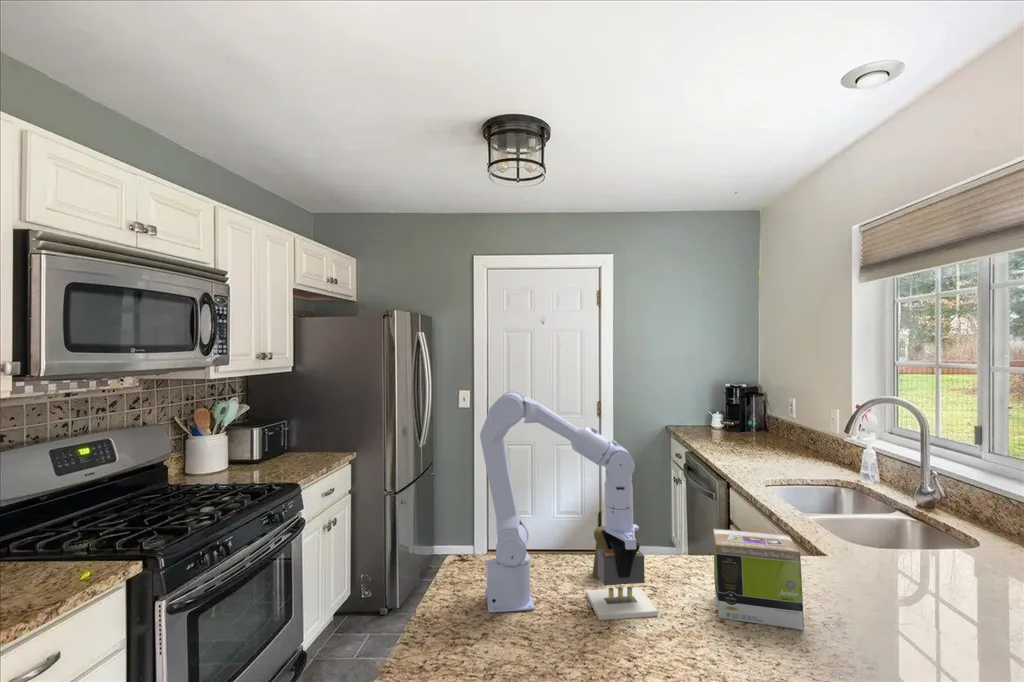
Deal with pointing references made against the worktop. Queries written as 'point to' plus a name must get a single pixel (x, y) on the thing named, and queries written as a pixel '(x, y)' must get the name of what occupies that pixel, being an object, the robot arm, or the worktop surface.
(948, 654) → the worktop surface
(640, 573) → the block
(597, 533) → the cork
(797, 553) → the tea box
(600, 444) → the robot arm
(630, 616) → the header board
